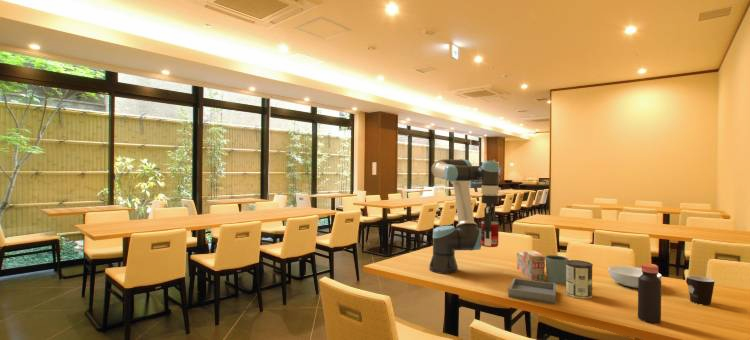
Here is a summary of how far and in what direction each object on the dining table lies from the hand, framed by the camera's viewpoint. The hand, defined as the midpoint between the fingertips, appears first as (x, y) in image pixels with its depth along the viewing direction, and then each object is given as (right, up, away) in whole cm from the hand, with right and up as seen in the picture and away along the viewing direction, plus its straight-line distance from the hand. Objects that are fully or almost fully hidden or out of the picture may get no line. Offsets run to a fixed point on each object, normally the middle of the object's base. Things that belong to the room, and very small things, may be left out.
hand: (489, 243), depth 171 cm
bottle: (+48, -21, -35) cm, 63 cm away
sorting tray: (+16, -20, -8) cm, 28 cm away
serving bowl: (+71, -21, +5) cm, 74 cm away
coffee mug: (+83, -21, -16) cm, 88 cm away
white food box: (+28, -21, +23) cm, 42 cm away
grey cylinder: (+36, -21, +10) cm, 43 cm away
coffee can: (+37, -21, -9) cm, 43 cm away
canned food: (0, -1, 0) cm, 1 cm away
